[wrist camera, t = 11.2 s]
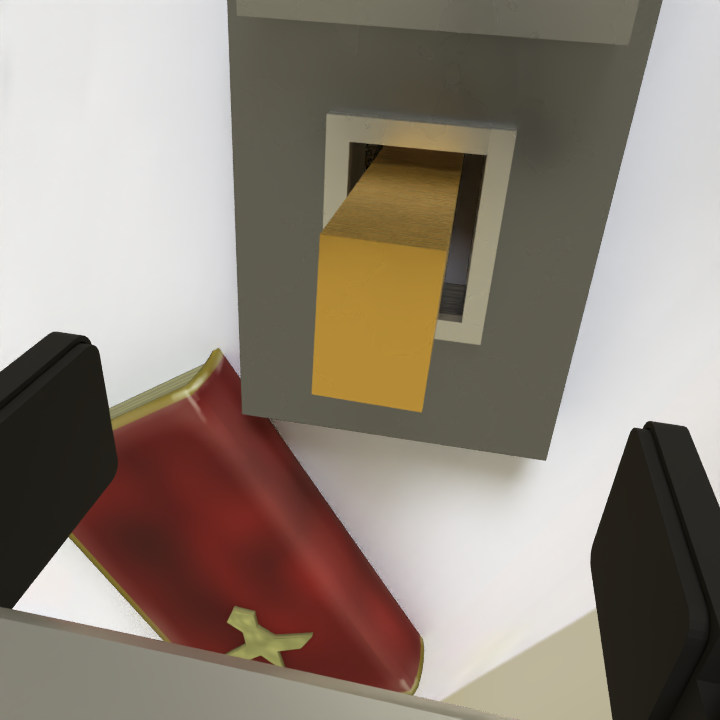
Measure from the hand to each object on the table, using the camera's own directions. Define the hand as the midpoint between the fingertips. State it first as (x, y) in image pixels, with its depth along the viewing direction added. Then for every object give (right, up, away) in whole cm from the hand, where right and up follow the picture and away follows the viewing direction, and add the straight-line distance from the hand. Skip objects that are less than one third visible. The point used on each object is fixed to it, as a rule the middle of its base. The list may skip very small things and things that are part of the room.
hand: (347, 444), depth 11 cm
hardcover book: (-6, -8, +26) cm, 28 cm away
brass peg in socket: (+2, +8, +14) cm, 16 cm away
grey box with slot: (+2, +7, +14) cm, 16 cm away
